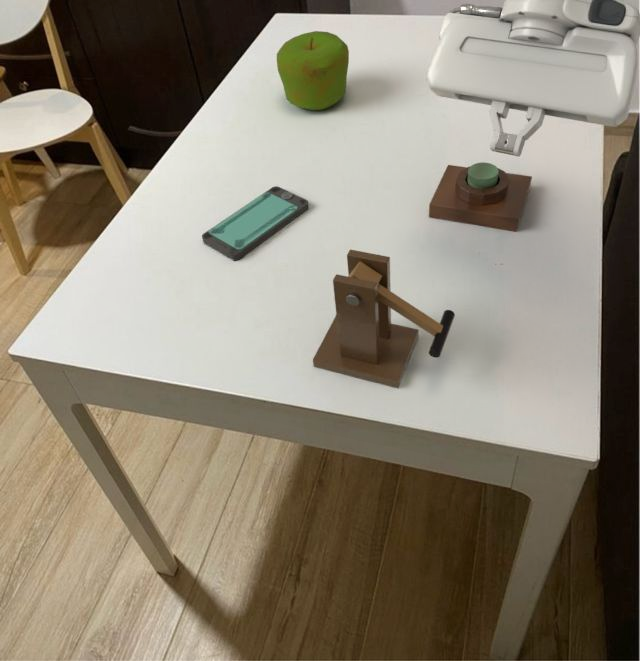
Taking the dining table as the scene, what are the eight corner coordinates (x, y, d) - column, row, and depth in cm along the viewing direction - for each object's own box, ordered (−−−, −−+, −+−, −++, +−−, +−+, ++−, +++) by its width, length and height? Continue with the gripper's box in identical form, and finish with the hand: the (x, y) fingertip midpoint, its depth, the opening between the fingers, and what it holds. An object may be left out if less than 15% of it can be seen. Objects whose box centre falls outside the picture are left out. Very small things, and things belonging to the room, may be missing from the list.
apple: (297, 82, 122) (289, 20, 114) (360, 86, 119) (356, 23, 111) (272, 116, 115) (262, 52, 106) (339, 122, 111) (334, 56, 103)
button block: (529, 189, 94) (534, 165, 91) (516, 231, 88) (520, 207, 85) (447, 177, 97) (448, 153, 95) (428, 217, 91) (429, 193, 88)
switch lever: (447, 322, 71) (460, 311, 69) (432, 362, 68) (445, 351, 66) (356, 261, 70) (366, 249, 68) (335, 299, 67) (345, 287, 65)
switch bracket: (418, 336, 76) (420, 252, 67) (397, 388, 72) (397, 305, 62) (338, 318, 80) (330, 235, 70) (313, 366, 75) (300, 284, 65)
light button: (500, 175, 90) (501, 164, 89) (493, 191, 88) (495, 180, 87) (471, 171, 92) (472, 160, 90) (464, 187, 89) (465, 176, 88)
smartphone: (310, 200, 95) (233, 254, 88) (310, 207, 95) (235, 261, 88) (274, 183, 98) (198, 234, 91) (275, 190, 99) (200, 241, 92)
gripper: (440, -11, 66) (402, 126, 68) (658, 12, 58) (605, 167, 60) (456, 13, 72) (419, 140, 74) (656, 38, 63) (608, 179, 66)
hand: (504, 153), depth 67 cm, fingers closed
